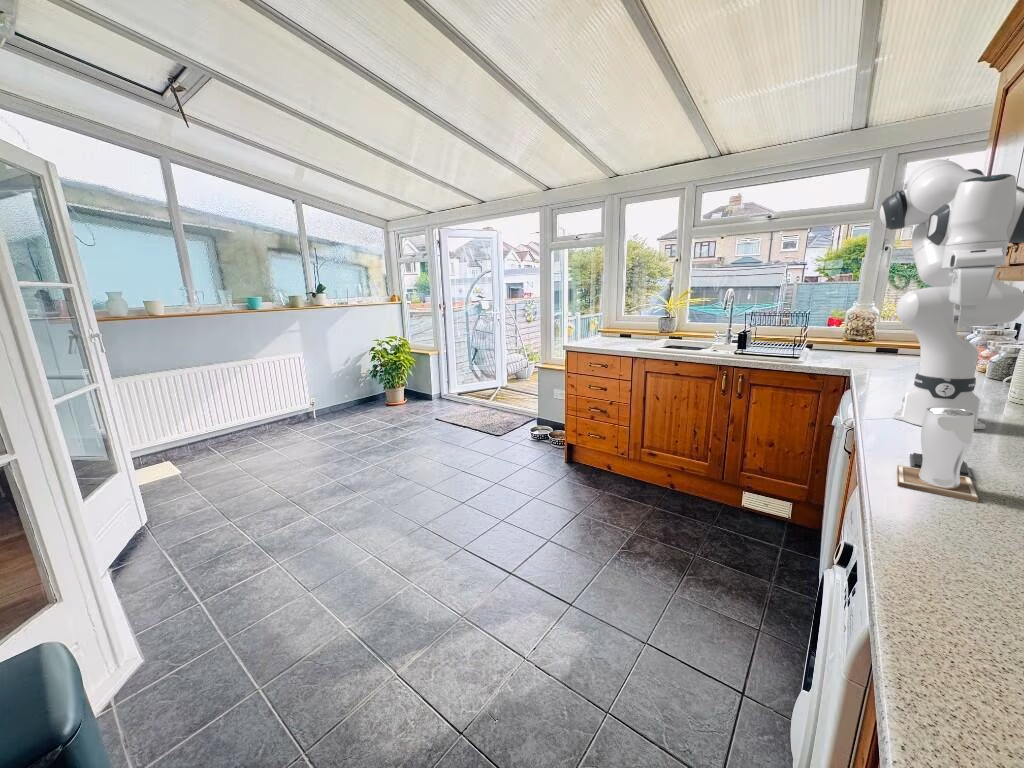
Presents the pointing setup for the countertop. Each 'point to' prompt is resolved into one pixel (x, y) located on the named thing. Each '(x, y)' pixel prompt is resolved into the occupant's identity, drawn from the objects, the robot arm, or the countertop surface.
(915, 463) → the ink pad
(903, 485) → the board
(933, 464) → the beer glass
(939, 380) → the robot arm
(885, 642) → the countertop surface
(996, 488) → the countertop surface
